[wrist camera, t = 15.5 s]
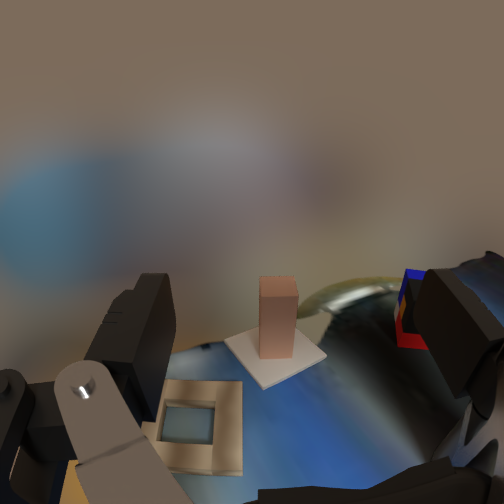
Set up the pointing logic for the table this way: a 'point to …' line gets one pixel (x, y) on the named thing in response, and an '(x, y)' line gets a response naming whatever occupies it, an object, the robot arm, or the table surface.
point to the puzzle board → (225, 428)
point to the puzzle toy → (408, 311)
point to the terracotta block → (277, 316)
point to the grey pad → (273, 369)
